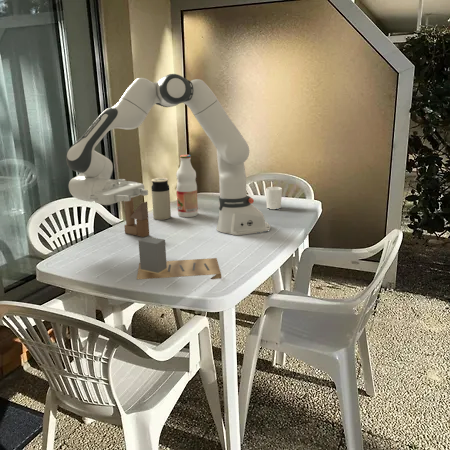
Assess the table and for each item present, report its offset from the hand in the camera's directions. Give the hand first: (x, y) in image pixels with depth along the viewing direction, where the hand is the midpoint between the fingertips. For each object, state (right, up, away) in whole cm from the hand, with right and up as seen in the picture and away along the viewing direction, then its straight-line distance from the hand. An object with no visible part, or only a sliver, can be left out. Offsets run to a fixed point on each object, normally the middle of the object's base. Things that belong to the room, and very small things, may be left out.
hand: (138, 195), depth 157 cm
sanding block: (+7, -24, -9) cm, 27 cm away
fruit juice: (+12, -5, +60) cm, 61 cm away
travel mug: (+1, -7, +55) cm, 56 cm away
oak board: (+15, -25, -8) cm, 30 cm away
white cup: (+53, -2, +68) cm, 86 cm away
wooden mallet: (-6, -14, +32) cm, 36 cm away
